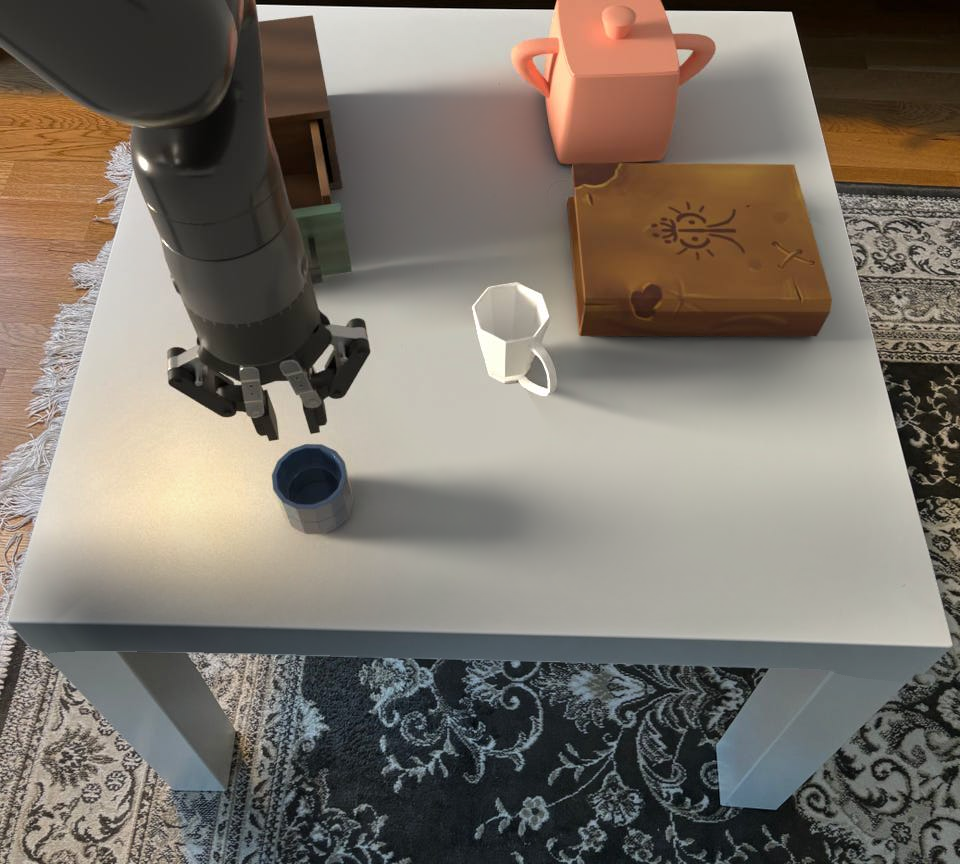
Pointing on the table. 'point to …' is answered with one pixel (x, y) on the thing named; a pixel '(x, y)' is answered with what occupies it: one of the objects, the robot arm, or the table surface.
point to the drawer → (312, 197)
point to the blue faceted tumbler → (313, 488)
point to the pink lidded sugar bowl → (611, 78)
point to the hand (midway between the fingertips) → (293, 426)
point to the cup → (514, 334)
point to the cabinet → (297, 82)
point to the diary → (694, 251)
